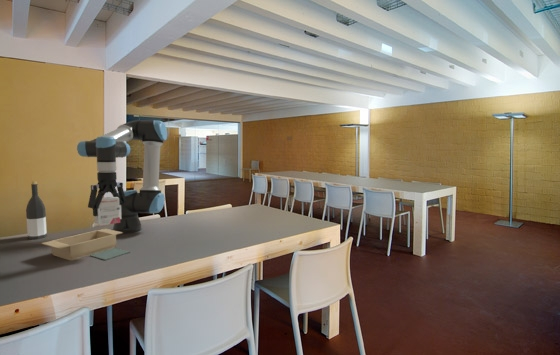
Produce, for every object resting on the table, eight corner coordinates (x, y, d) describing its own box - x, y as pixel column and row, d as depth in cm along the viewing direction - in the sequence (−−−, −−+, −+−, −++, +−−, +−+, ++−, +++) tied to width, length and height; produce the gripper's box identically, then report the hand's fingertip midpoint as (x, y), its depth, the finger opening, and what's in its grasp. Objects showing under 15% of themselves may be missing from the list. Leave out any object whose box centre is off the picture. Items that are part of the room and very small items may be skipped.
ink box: (118, 221, 149) (117, 196, 148) (120, 223, 146) (119, 197, 144) (97, 223, 144) (96, 197, 143) (99, 225, 140) (98, 199, 139)
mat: (114, 248, 154) (114, 247, 154) (129, 252, 149) (129, 251, 149) (90, 255, 143) (90, 255, 143) (105, 260, 138) (105, 259, 138)
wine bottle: (28, 240, 165) (24, 182, 162) (27, 236, 171) (24, 181, 168) (47, 237, 170) (44, 181, 167) (46, 234, 176) (43, 180, 173)
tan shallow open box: (105, 240, 166) (104, 228, 166) (123, 245, 159) (123, 232, 159) (42, 257, 141) (41, 243, 140) (61, 263, 134) (60, 248, 133)
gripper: (123, 169, 154) (125, 215, 156) (76, 172, 135) (78, 224, 137) (134, 170, 150) (135, 217, 153) (86, 173, 131) (89, 227, 133)
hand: (108, 220), depth 145 cm, fingers closed on ink box, 9 cm apart
